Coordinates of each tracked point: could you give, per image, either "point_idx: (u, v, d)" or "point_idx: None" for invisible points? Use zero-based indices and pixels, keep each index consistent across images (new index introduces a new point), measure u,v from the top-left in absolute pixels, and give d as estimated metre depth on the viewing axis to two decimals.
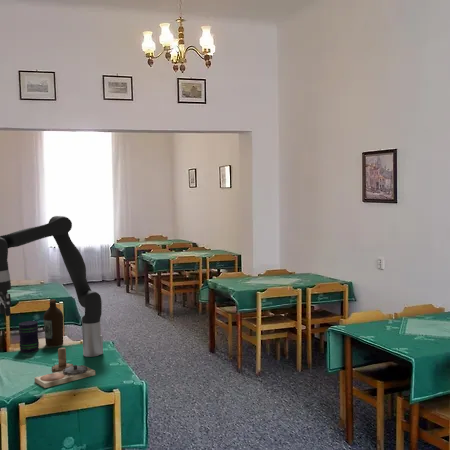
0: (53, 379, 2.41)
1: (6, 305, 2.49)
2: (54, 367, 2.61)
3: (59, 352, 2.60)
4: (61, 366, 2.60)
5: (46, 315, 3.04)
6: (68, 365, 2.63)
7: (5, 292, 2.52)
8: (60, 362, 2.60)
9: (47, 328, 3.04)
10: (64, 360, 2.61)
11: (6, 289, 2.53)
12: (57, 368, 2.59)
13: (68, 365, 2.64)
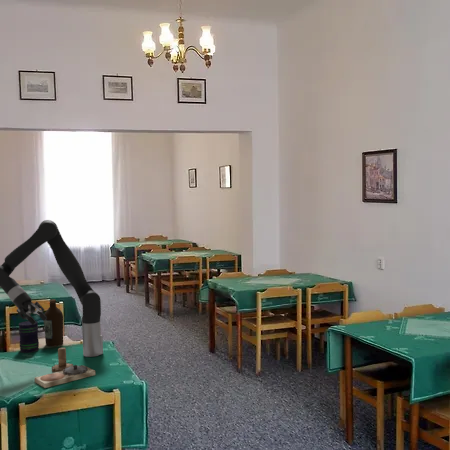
0: (53, 379, 2.41)
1: (22, 317, 2.59)
2: (54, 367, 2.61)
3: (59, 352, 2.60)
4: (61, 366, 2.60)
5: (46, 315, 3.04)
6: (68, 365, 2.63)
7: (21, 306, 2.63)
8: (60, 362, 2.60)
9: (47, 328, 3.04)
10: (64, 360, 2.61)
11: (20, 303, 2.63)
12: (57, 368, 2.59)
13: (68, 365, 2.64)
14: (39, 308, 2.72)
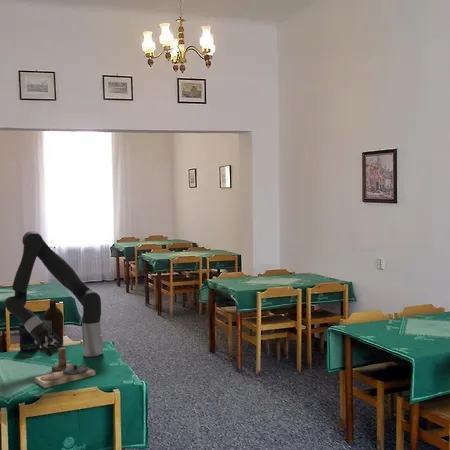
0: (53, 379, 2.41)
1: (39, 349, 2.57)
2: (54, 367, 2.61)
3: (59, 352, 2.60)
4: (61, 366, 2.60)
5: (46, 315, 3.04)
6: (68, 365, 2.63)
7: (38, 337, 2.61)
8: (60, 362, 2.60)
9: (47, 328, 3.04)
10: (64, 360, 2.61)
11: (37, 335, 2.61)
12: (57, 368, 2.59)
13: (68, 365, 2.64)
14: (56, 338, 2.70)
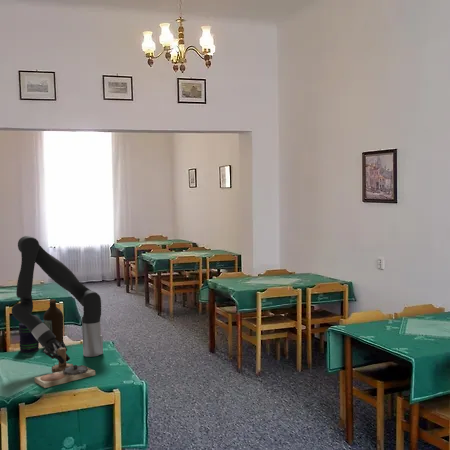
0: (53, 379, 2.41)
1: (51, 357, 2.58)
2: (54, 367, 2.61)
3: (59, 352, 2.60)
4: (61, 366, 2.60)
5: (46, 315, 3.04)
6: (68, 365, 2.63)
7: (45, 345, 2.60)
8: None
9: None
10: None
11: (44, 342, 2.60)
12: (57, 368, 2.59)
13: (68, 365, 2.64)
14: None
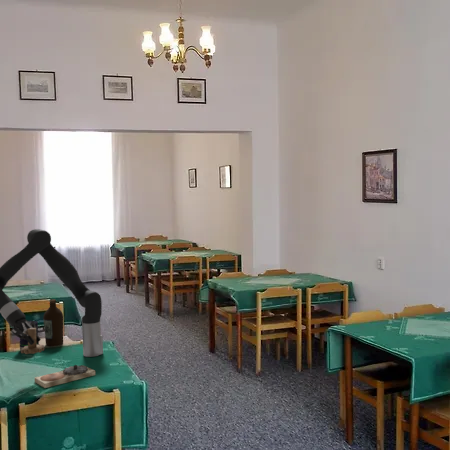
0: (53, 379, 2.41)
1: (20, 337, 2.43)
2: (23, 348, 2.46)
3: (28, 332, 2.45)
4: (31, 347, 2.46)
5: (46, 315, 3.04)
6: (38, 346, 2.48)
7: (14, 324, 2.45)
8: None
9: (47, 328, 3.04)
10: None
11: (13, 321, 2.45)
12: (26, 349, 2.44)
13: (38, 346, 2.49)
14: None
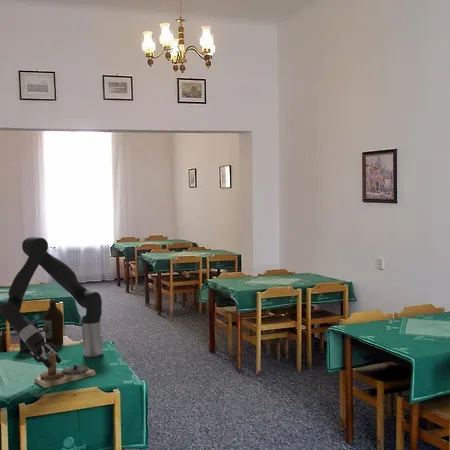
0: None
1: (37, 361, 2.39)
2: (43, 375, 2.43)
3: (48, 358, 2.43)
4: (50, 373, 2.43)
5: (46, 315, 3.04)
6: (58, 372, 2.46)
7: (34, 347, 2.43)
8: (49, 369, 2.43)
9: (47, 328, 3.04)
10: (54, 367, 2.44)
11: (33, 344, 2.43)
12: (46, 376, 2.42)
13: (58, 372, 2.46)
14: (53, 349, 2.51)
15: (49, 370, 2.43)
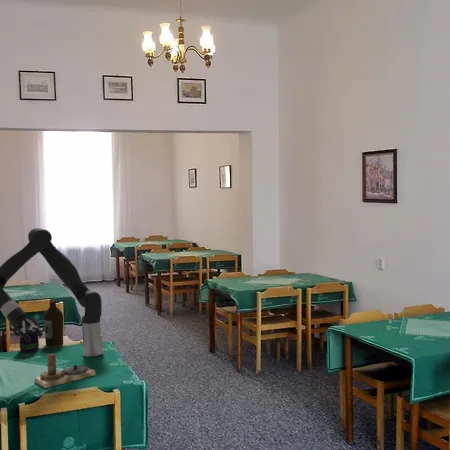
0: None
1: (16, 335, 2.43)
2: (43, 375, 2.43)
3: (48, 358, 2.43)
4: (50, 373, 2.43)
5: (46, 315, 3.04)
6: (58, 372, 2.46)
7: (15, 322, 2.46)
8: (49, 369, 2.43)
9: (47, 328, 3.04)
10: (54, 367, 2.44)
11: (14, 319, 2.47)
12: (46, 376, 2.42)
13: (58, 372, 2.46)
14: (34, 324, 2.55)
15: (49, 370, 2.43)
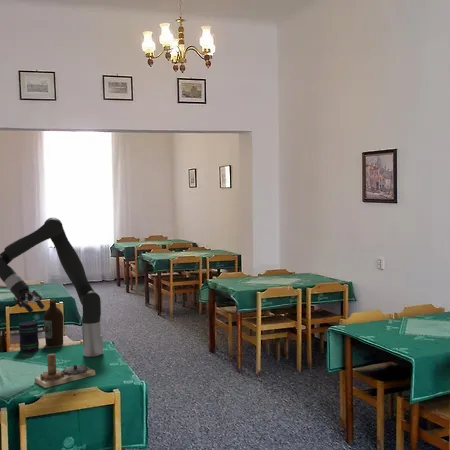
0: None
1: (19, 305, 2.57)
2: (43, 375, 2.43)
3: (48, 358, 2.43)
4: (50, 373, 2.43)
5: (46, 315, 3.04)
6: (58, 372, 2.46)
7: (18, 294, 2.61)
8: (49, 369, 2.43)
9: (47, 328, 3.04)
10: (54, 367, 2.44)
11: (17, 291, 2.61)
12: (46, 376, 2.42)
13: (58, 372, 2.46)
14: (37, 296, 2.70)
15: (49, 370, 2.43)
